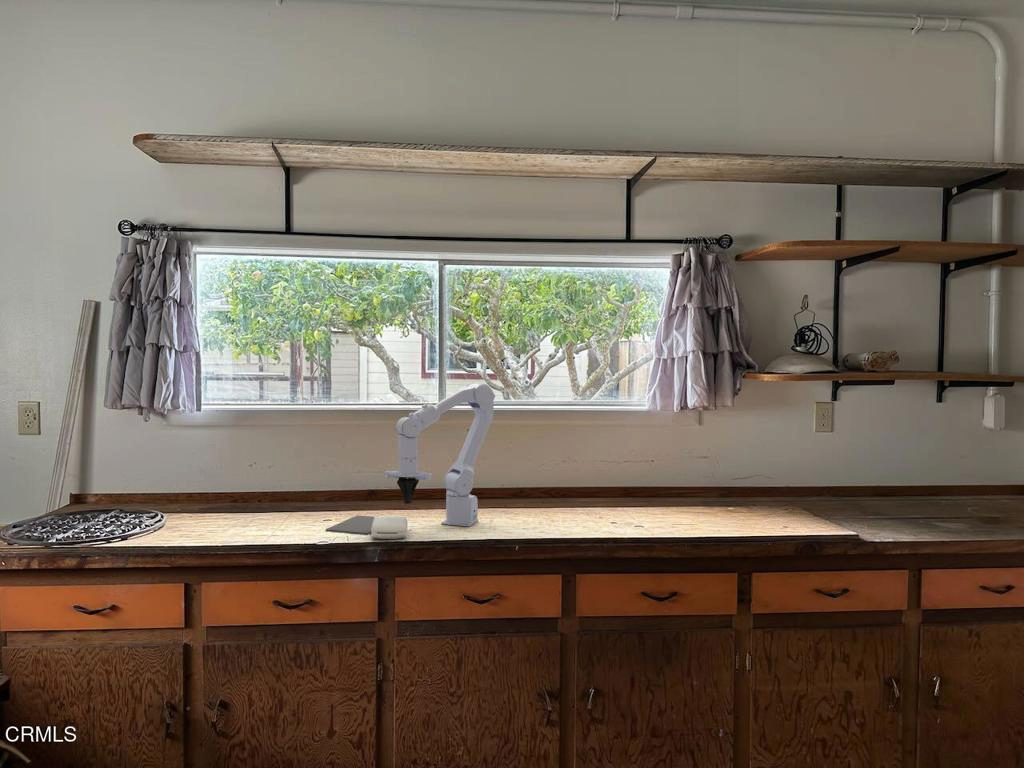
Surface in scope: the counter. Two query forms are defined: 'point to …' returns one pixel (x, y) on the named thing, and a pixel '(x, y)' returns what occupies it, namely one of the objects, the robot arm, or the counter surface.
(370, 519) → the mat
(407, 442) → the robot arm
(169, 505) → the counter surface
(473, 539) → the counter surface
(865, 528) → the counter surface
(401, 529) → the photo printer
